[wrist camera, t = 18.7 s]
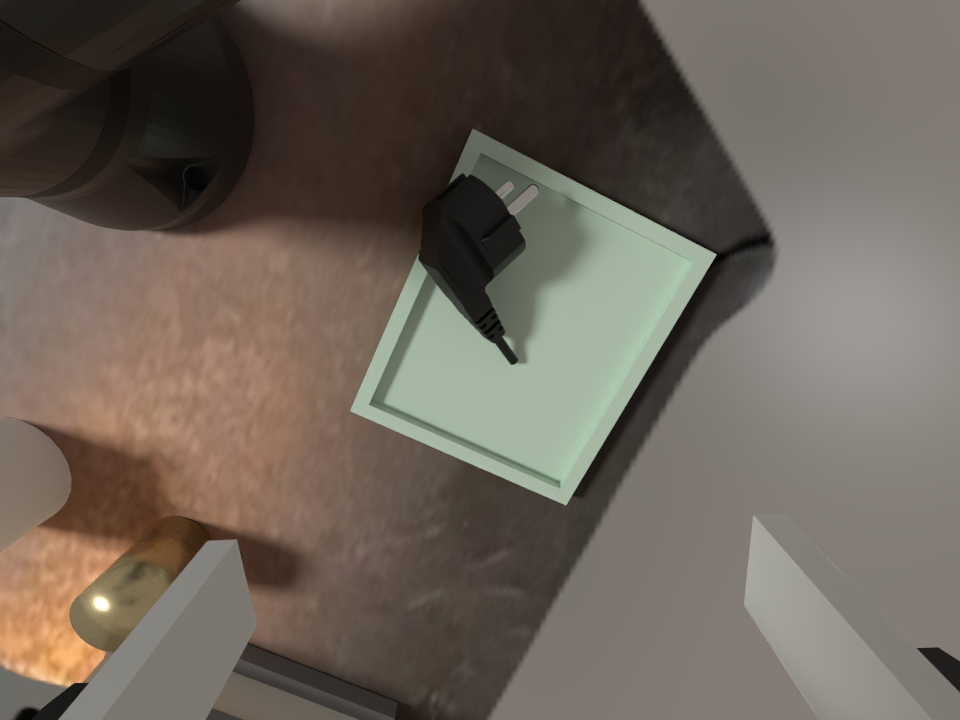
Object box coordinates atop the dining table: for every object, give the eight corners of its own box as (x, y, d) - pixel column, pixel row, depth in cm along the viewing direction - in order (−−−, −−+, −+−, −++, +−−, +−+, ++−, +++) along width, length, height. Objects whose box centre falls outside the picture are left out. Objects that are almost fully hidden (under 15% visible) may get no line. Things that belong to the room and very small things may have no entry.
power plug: (484, 354, 36) (383, 222, 29) (558, 285, 37) (477, 140, 30) (528, 386, 32) (422, 239, 25) (610, 306, 33) (530, 143, 26)
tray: (473, 132, 31) (472, 128, 30) (706, 252, 33) (716, 254, 32) (355, 403, 37) (349, 411, 35) (563, 494, 38) (566, 505, 37)
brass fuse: (143, 516, 40) (60, 589, 32) (206, 515, 39) (138, 588, 32) (156, 570, 41) (80, 652, 33) (217, 569, 41) (154, 652, 33)
